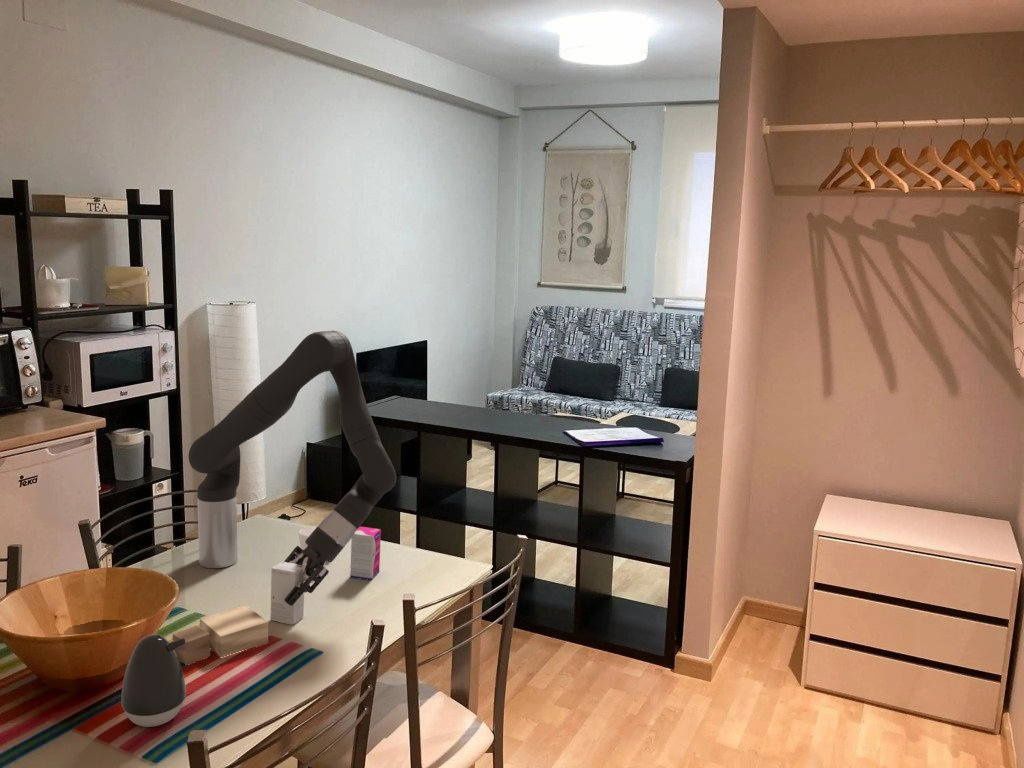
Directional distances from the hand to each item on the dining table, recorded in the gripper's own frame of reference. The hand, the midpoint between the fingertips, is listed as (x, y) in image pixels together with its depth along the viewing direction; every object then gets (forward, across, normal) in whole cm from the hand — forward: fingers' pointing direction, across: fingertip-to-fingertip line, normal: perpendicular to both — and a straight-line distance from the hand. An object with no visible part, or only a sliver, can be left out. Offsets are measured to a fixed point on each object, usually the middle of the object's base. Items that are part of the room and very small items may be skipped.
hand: (281, 596), depth 180 cm
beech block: (+12, +4, -4) cm, 13 cm away
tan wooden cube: (+18, +6, -10) cm, 22 cm away
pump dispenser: (+26, +24, -18) cm, 40 cm away
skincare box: (+3, 0, +5) cm, 6 cm away
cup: (-11, -30, +19) cm, 37 cm away
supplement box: (-15, -13, +23) cm, 30 cm away
